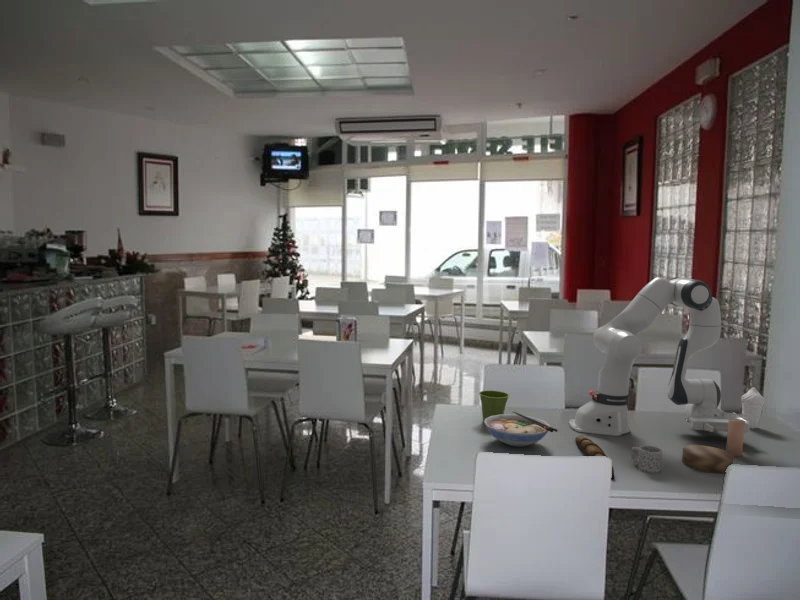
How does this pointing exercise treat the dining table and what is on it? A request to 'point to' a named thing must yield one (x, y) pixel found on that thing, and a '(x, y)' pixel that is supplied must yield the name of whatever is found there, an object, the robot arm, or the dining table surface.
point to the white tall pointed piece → (752, 407)
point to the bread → (590, 448)
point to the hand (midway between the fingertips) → (727, 430)
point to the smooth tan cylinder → (735, 437)
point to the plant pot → (493, 403)
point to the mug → (648, 458)
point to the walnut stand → (706, 458)
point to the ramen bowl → (517, 429)
